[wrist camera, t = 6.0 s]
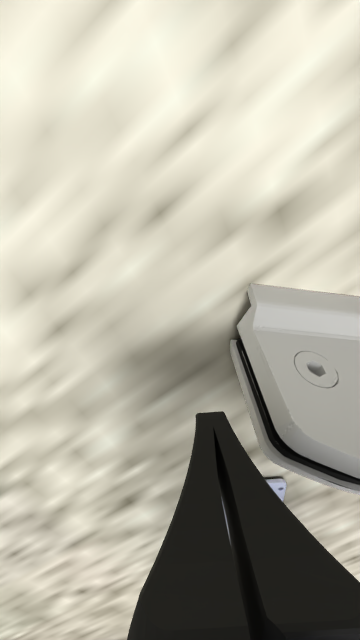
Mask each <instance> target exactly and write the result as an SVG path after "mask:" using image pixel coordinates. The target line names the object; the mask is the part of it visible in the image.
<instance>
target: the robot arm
mask: <svg viewBox="0 0 360 640" xmlns="http://www.w3.org/2000/svg"><path fill="white" fill-rule="evenodd" d="M285 490H286V482H285V480H284V479H267V480H265V479H264V478H263V476H262V475H261V473H260V472H259V471H258V469H257V468H256V466H255V465H254V463H253V462H252V461H251V459H250V458H249V456H248V455H247V453H246V451H245V450H244V448H243V447H242V445H241V443H240V442H239V440H238V438H237V437H236V435H235V433H234V431H233V430H232V428H231V426H230V424H229V422H228V420H227V417H226V415H225V413H224V412H209V413H198V414H197V415H196V430H195V438H194V444H193V450H192V455H191V460H190V464H189V468H188V472H187V476H186V479H185V483H184V486H183V489H182V492H181V496H180V499H179V502H178V504H177V507H176V510H175V513H174V516H173V519H172V521H171V524H170V526H169V529H168V531H167V534H166V536H165V539H164V541H163V544H162V546H161V548H160V551H159V553H158V556H157V558H156V560H155V562H154V565H153V567H152V569H151V571H150V573H149V575H148V577H147V580H146V582H145V584H144V586H143V588H142V590H141V592H140V595H139V599H138V602H137V605H136V608H135V612H134V615H133V618H132V622H131V625H130V629H129V633H128V638H127V640H360V582H359V581H358V580H357V579H356V578H355V577H354V576H353V575H352V574H350V573H349V572H348V571H347V570H346V569H345V568H344V567H343V566H342V565H341V564H340V563H339V562H338V561H337V560H336V559H335V558H334V557H333V556H332V555H331V554H330V553H329V552H328V551H327V550H326V549H325V548H324V547H323V546H322V545H321V544H320V543H319V542H318V541H317V540H316V539H315V537H314V536H313V535H312V534H311V533H310V532H309V531H308V530H307V529H306V528H305V527H304V525H303V524H302V523H301V522H300V521H299V520H298V519H297V518H296V517H295V515H294V514H293V513H292V512H291V511H290V510H289V509H288V508H287V506H286V505H285V504H284V503H283V500H284V495H285Z"/></svg>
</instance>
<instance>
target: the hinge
mask: <svg viewBox="0 0 360 640" xmlns="http://www.w3.org/2000/svg"><path fill="white" fill-rule="evenodd" d="M247 293H248V296H249V300H250V303H251V307H250V308H249V309H248V311H247V312H246V314H245V315H244V316H243V318H242V319H241V321H240V322H239V323H238V325H237V328H238V331H239V334H240V336H241V339H237V340H231V341H230V354H231V357H232V360H233V363H234V366H235V370H236V373H237V376H238V379H239V382H240V385H241V389H242V392H243V395H244V398H245V401H246V404H247V408H248V411H249V414H250V417H251V420H252V423H253V427H254V430H255V433H256V436H257V439H258V443H259V446H260V448H261V450H262V451H263V453H264V454H265V456H266V457H267V458H268V459H269V460H271V461H272V462H273V463H275V464H277V465H279V466H281V467H284V468H286V469H288V470H290V471H292V472H294V473H296V474H299V475H301V476H304V477H306V478H309V479H311V480H314V481H317V482H319V483H322V484H324V485H327V486H330V487H333V488H336V489H340V490H343V491H346V492H349V493H353V494H357V495H360V297H358V296H350V295H342V294H334V293H325V292H317V291H309V290H301V289H292V288H284V287H276V286H268V285H259V284H251V283H250V285H249V287H248V290H247Z"/></svg>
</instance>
